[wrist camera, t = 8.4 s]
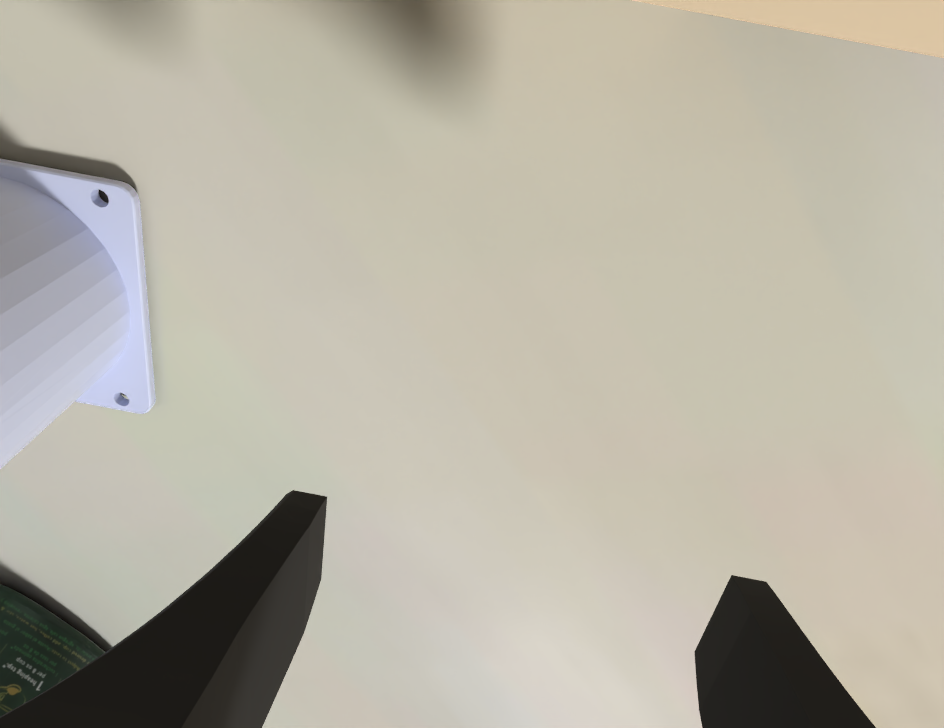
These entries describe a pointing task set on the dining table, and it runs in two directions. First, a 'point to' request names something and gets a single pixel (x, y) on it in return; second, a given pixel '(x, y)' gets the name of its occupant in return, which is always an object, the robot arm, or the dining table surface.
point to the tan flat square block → (839, 19)
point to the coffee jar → (36, 649)
